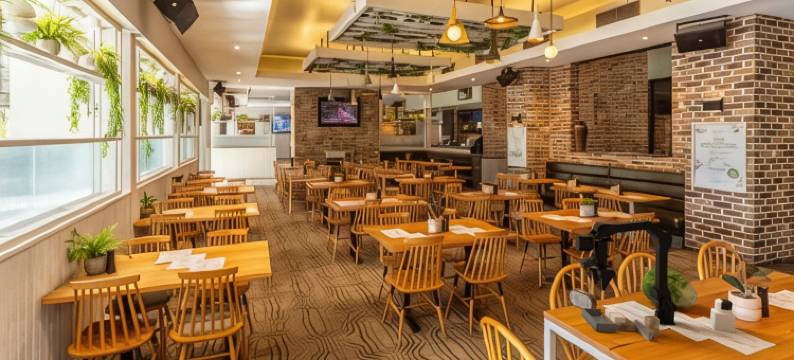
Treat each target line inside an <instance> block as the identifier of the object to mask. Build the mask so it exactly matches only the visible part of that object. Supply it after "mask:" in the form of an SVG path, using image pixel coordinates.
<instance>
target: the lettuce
mask: <svg viewBox="0 0 794 360" xmlns="http://www.w3.org/2000/svg"><path fill="white" fill-rule="evenodd" d="M641 282H642V283H641V289H642V292H643V295H644V296H645V297H646V298H647V299H648V300H649V301H650V302H652V303H654V304H655V302H654V301H653V300H652V299H651V296H650V295H649V294H650V286H651V287H653V286H654V284H655V267H652V268H650V269H649V270H647V271H646V273H645V275H644V276H643V279H642V281H641ZM668 288H669V290H670V292H671V298H672V302H673V303H674V304H675V305H676V306H677V307H678V308H679V309H680V308H689V307H692V306H694V305H696V303H697V302H698V292H697V290H696V288H695V287H694V286H693V285H692V282H691V281H690V280H689V279H688V278H687V277H685V276H684V275H683V274H681V273H680V272H678V271H676V270H675V269H673V268H671V267H670V268H669V267H668ZM678 308H677V309H678Z"/></svg>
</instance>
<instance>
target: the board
mask: <svg viewBox="0 0 794 360" xmlns="http://www.w3.org/2000/svg"><path fill="white" fill-rule="evenodd" d="M620 314H622V315H624V314H623V313H622V312H620ZM602 317H603V318H604V319H605V320H606V321H607V322H608V323H614V322H613V321H612V320H611V319H610V318H609V317H608V316H606V315H605V312H602ZM625 317H626V316H625ZM616 324H617V331H622V332H636V329H635V328H636V325H635V324H634V323H633V322H632V321H631V320H630V319H629V317H626V323H616Z"/></svg>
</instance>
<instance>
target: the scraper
mask: <svg viewBox="0 0 794 360" xmlns="http://www.w3.org/2000/svg"><path fill="white" fill-rule="evenodd" d="M633 322H634V323H633V324H635V325H636V328H635V331H636V332H638V333H639V334H640V335H642V336H643V338H645V339H646V340H647V341H648V342H652V341H653V338H654V337H656V338H657V337H660V325H661V324H660V319H658V318H657V317H656V316H655V315H644V324H643V323H642V322H641V321H640V320H638V319H634V321H633Z"/></svg>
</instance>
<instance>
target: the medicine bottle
mask: <svg viewBox="0 0 794 360" xmlns="http://www.w3.org/2000/svg"><path fill="white" fill-rule="evenodd" d="M733 305H734V304H733V302H732V301H731V300H729V299H724V298H717V299H715V300H714V307H711V309H710V317H709V318H710V319H709V320H710V321H709V324H710V325H711V327H712V328H713V330H714V331H719V330H720V332H728V331H729V332H730V333H735V330H736V317H737V316H736V314H735V313H733Z"/></svg>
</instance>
